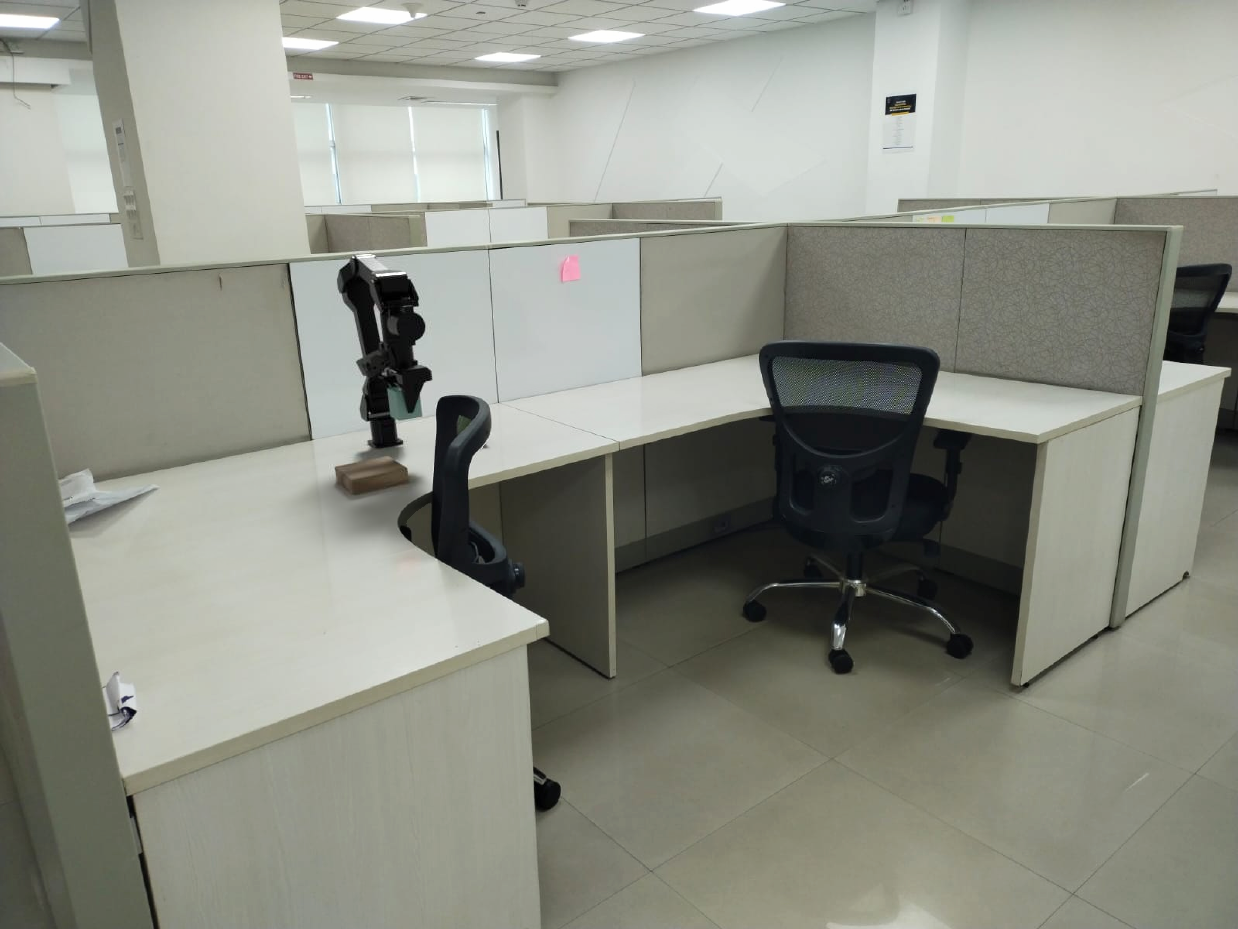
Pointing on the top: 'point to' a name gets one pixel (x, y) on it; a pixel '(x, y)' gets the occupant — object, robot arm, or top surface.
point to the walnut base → (371, 475)
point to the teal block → (401, 405)
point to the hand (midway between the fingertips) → (405, 410)
